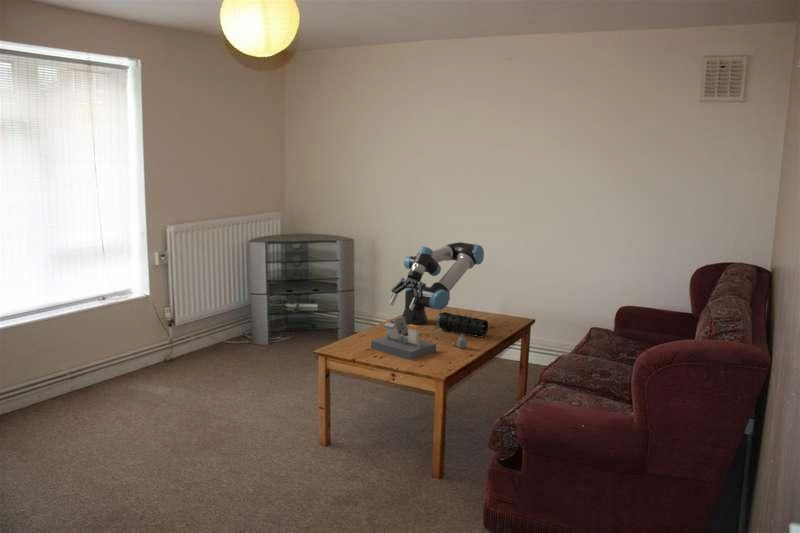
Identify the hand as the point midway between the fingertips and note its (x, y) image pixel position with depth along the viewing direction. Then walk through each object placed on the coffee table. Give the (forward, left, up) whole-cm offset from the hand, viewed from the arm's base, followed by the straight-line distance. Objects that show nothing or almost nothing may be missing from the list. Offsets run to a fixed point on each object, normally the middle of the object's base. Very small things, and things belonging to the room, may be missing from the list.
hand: (400, 307), depth 360 cm
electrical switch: (-2, -3, -16) cm, 17 cm away
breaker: (+19, +12, -11) cm, 25 cm away
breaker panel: (+19, +18, -16) cm, 31 cm away
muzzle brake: (-29, +20, -16) cm, 39 cm away
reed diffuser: (-5, +36, -16) cm, 40 cm away
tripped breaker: (+19, +24, -11) cm, 33 cm away
